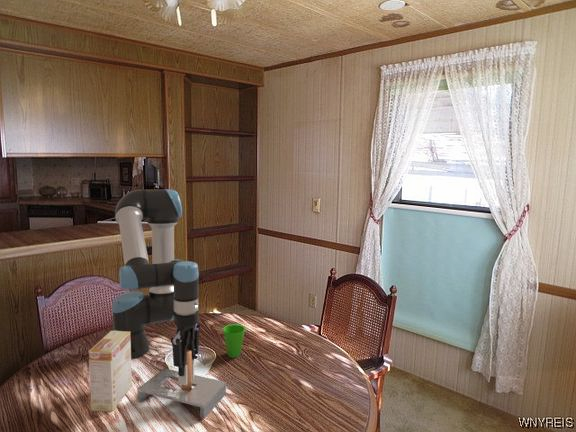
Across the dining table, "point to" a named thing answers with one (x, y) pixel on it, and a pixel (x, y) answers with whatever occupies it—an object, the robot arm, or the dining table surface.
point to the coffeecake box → (110, 370)
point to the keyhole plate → (201, 395)
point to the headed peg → (188, 372)
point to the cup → (234, 339)
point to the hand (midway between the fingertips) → (186, 380)
